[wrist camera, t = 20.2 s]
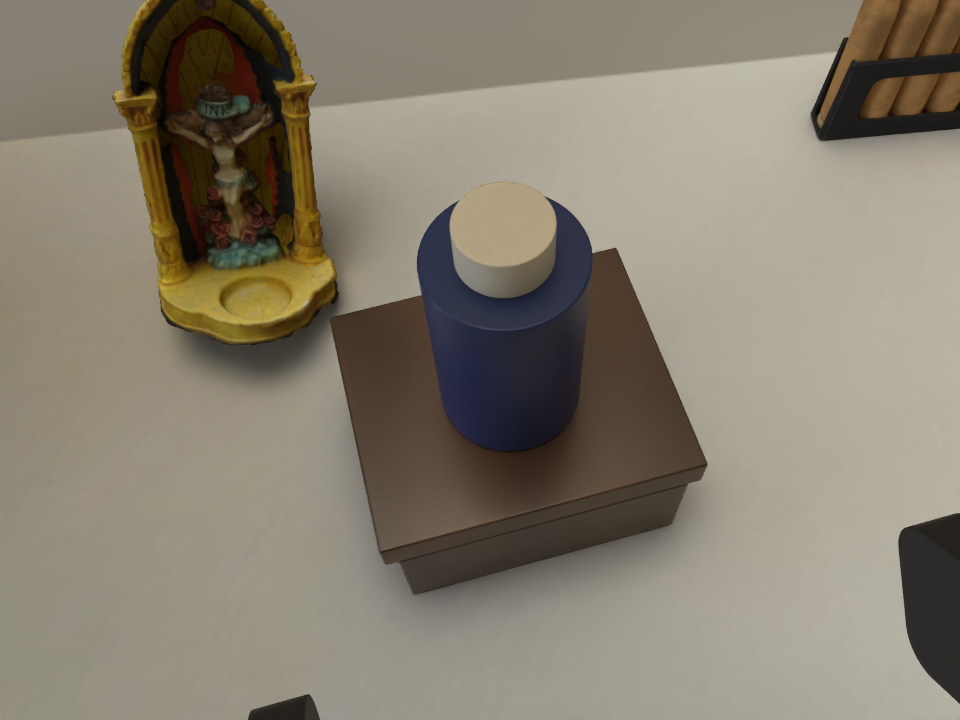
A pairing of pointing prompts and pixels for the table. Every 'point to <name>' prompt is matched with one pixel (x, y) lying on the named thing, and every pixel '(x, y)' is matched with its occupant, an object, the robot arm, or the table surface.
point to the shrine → (226, 168)
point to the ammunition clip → (894, 72)
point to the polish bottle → (507, 313)
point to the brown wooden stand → (514, 474)
